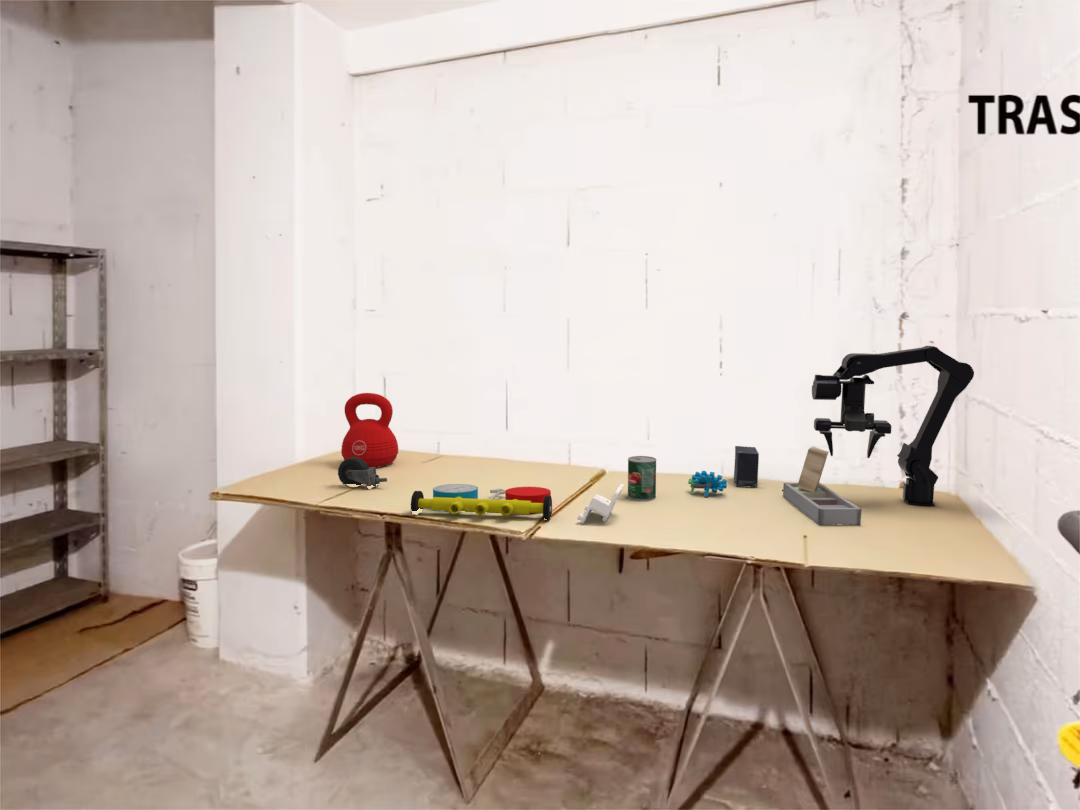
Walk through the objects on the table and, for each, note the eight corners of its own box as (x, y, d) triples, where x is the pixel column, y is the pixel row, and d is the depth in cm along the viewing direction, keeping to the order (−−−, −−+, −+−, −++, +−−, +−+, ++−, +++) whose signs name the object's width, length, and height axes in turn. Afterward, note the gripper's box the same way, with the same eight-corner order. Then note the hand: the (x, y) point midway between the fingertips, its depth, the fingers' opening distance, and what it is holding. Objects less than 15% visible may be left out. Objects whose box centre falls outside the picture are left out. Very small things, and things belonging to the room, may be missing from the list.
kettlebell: (332, 470, 230) (328, 395, 227) (355, 458, 248) (352, 389, 245) (386, 471, 227) (384, 396, 223) (406, 459, 245) (404, 390, 242)
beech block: (800, 483, 192) (811, 446, 189) (817, 489, 190) (828, 451, 187) (797, 487, 188) (808, 449, 185) (813, 492, 186) (825, 454, 183)
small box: (758, 488, 203) (759, 453, 202) (735, 487, 204) (736, 452, 203) (754, 479, 213) (756, 446, 212) (733, 478, 215) (734, 445, 213)
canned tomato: (661, 496, 194) (662, 458, 193) (645, 502, 188) (645, 463, 187) (638, 491, 200) (638, 454, 198) (621, 497, 194) (622, 459, 192)
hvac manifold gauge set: (408, 494, 175) (438, 477, 199) (408, 519, 175) (438, 498, 200) (547, 500, 169) (561, 481, 193) (547, 525, 169) (561, 503, 194)
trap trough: (783, 496, 193) (783, 482, 193) (818, 496, 193) (819, 482, 193) (819, 525, 167) (819, 509, 167) (860, 525, 167) (861, 509, 167)
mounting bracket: (598, 534, 168) (616, 496, 166) (575, 522, 169) (593, 484, 167) (607, 519, 180) (624, 484, 177) (585, 508, 181) (602, 473, 178)
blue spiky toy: (732, 488, 196) (720, 468, 190) (728, 506, 193) (716, 486, 187) (696, 488, 203) (683, 468, 197) (692, 505, 200) (679, 486, 194)
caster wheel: (337, 491, 206) (383, 489, 202) (332, 460, 205) (378, 457, 201) (346, 487, 211) (391, 484, 208) (342, 456, 210) (387, 453, 207)
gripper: (818, 403, 181) (816, 461, 183) (897, 405, 176) (893, 465, 178) (815, 397, 192) (812, 452, 194) (888, 399, 186) (885, 456, 188)
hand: (849, 456), depth 188 cm, fingers open, 9 cm apart
